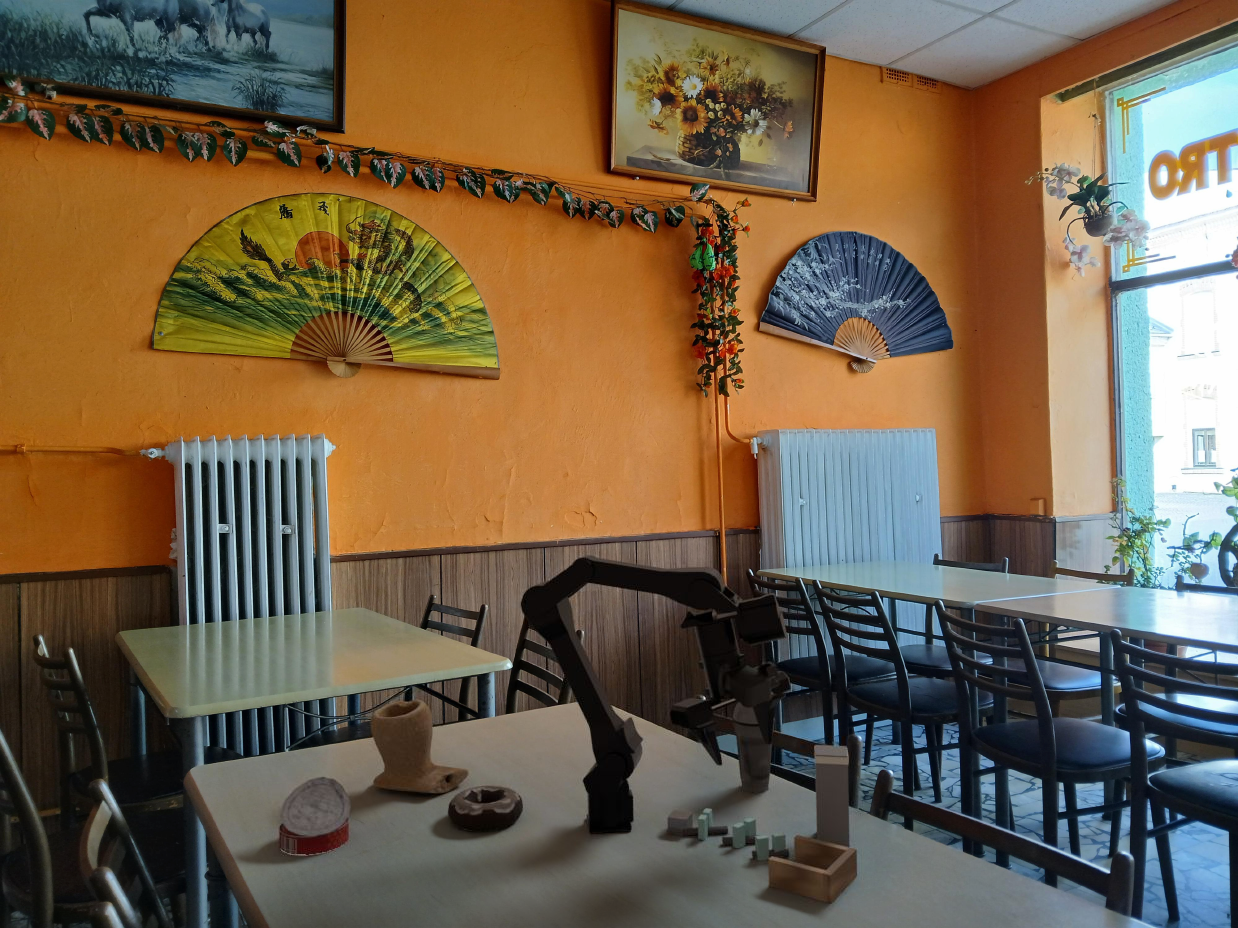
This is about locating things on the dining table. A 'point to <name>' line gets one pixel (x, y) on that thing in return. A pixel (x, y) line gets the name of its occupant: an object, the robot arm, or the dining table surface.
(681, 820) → the brown grey short block
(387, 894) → the dining table surface
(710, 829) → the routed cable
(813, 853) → the end holder
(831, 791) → the tall grey box
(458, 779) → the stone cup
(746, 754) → the beverage cup
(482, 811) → the donut
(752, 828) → the cable clips
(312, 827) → the canned food
